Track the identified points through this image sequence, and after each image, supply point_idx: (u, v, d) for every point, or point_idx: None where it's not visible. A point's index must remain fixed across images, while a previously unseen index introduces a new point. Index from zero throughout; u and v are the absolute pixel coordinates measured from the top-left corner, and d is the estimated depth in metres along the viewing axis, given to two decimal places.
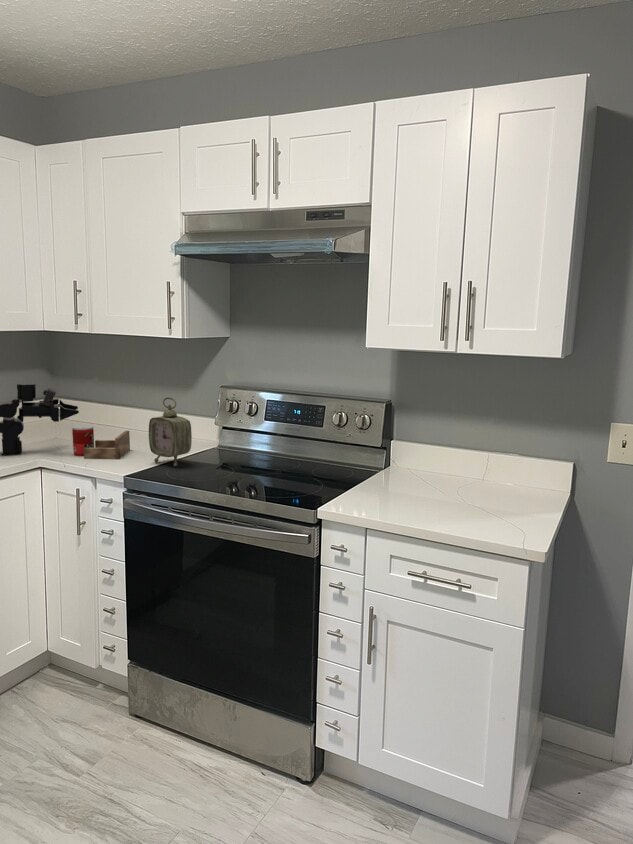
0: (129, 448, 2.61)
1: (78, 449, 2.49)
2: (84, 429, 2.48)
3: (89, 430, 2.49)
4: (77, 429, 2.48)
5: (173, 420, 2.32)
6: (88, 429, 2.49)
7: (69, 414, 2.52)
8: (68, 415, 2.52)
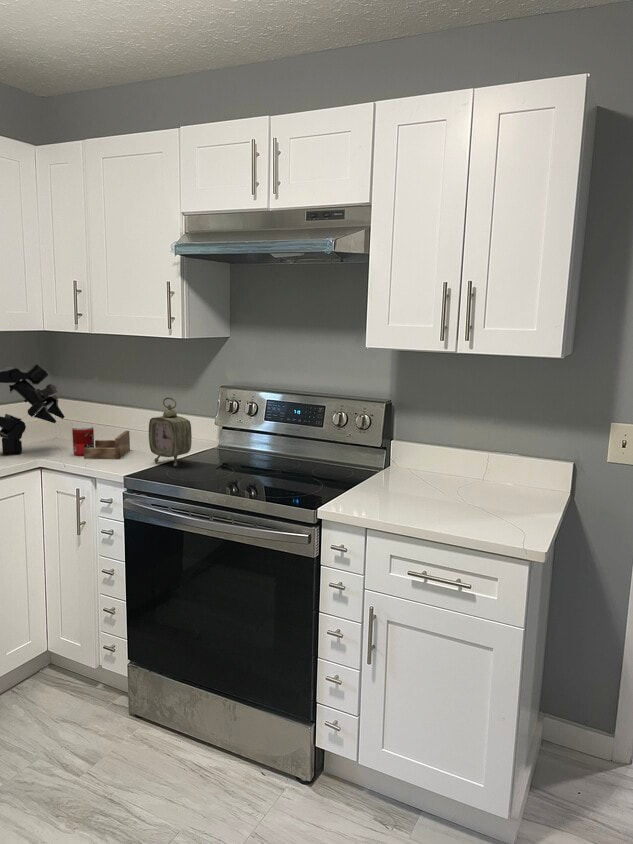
0: (129, 448, 2.61)
1: (78, 449, 2.49)
2: (84, 429, 2.48)
3: (89, 430, 2.49)
4: (77, 429, 2.48)
5: (173, 420, 2.32)
6: (88, 429, 2.49)
7: (46, 418, 2.49)
8: (44, 419, 2.48)
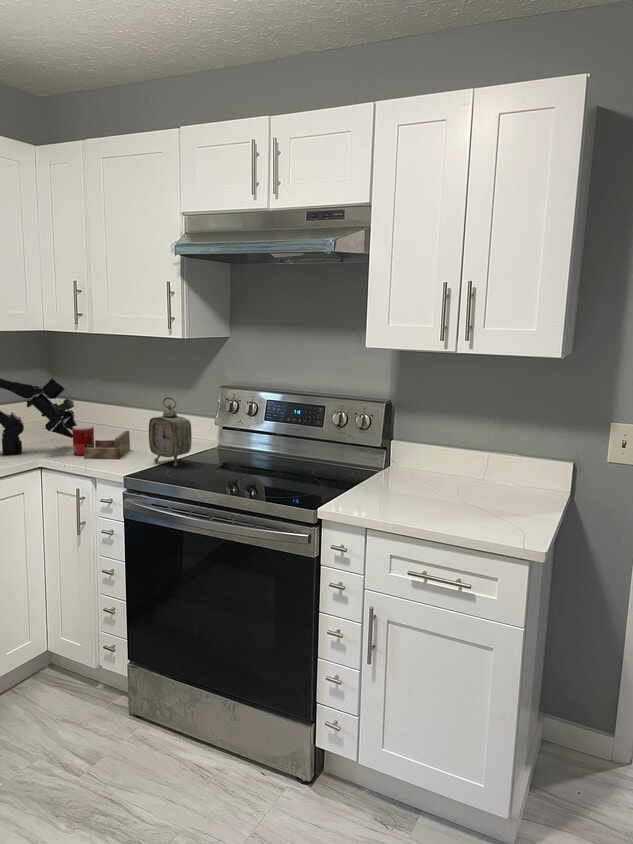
0: (129, 448, 2.61)
1: (78, 449, 2.49)
2: (84, 429, 2.48)
3: (89, 430, 2.49)
4: (77, 429, 2.48)
5: (173, 420, 2.32)
6: (88, 429, 2.49)
7: (63, 433, 2.50)
8: (61, 433, 2.50)
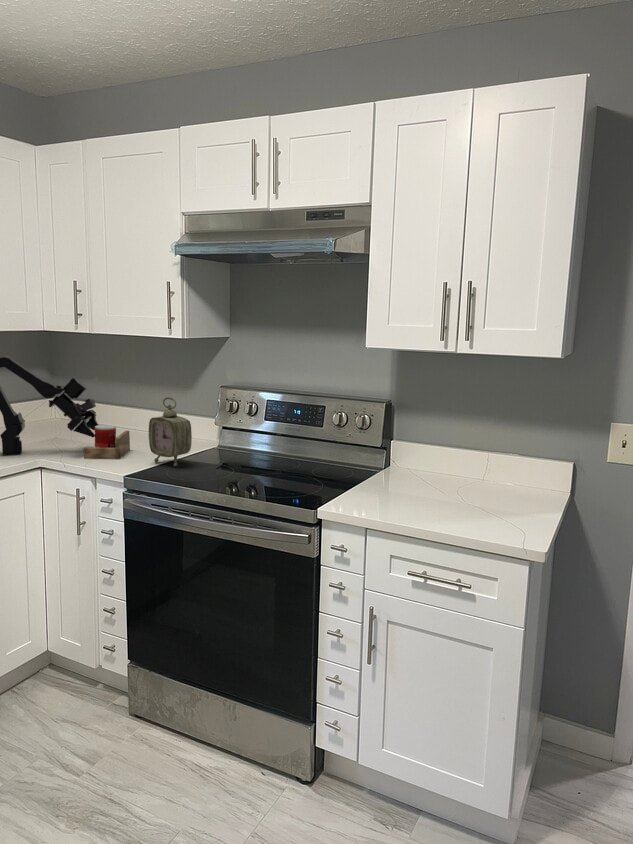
0: (129, 448, 2.61)
1: None
2: (108, 429, 2.49)
3: (113, 430, 2.50)
4: (101, 429, 2.48)
5: (173, 420, 2.32)
6: (112, 429, 2.50)
7: (85, 432, 2.50)
8: (83, 433, 2.50)
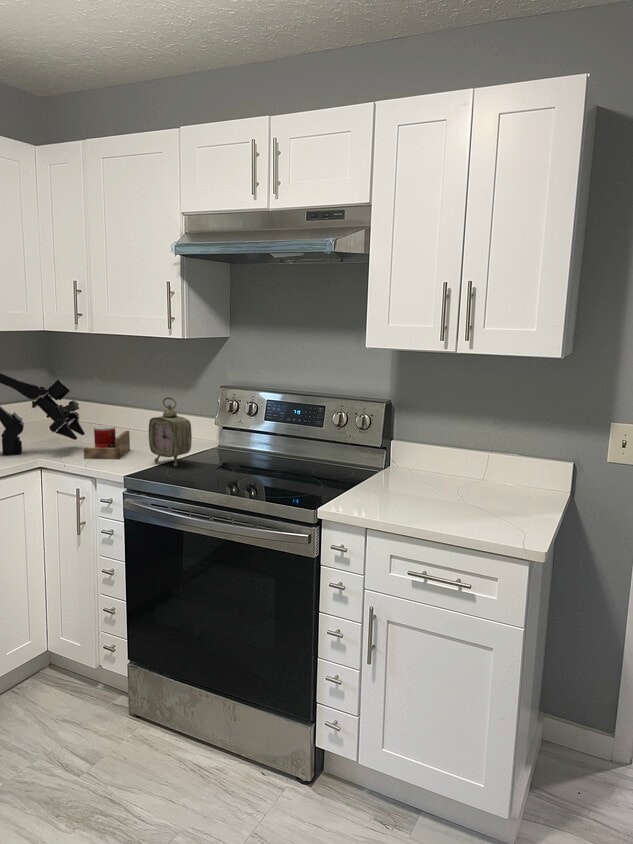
0: (129, 448, 2.61)
1: None
2: (108, 429, 2.48)
3: (112, 430, 2.50)
4: (101, 429, 2.48)
5: (173, 420, 2.32)
6: (111, 429, 2.49)
7: (67, 434, 2.50)
8: (65, 435, 2.50)
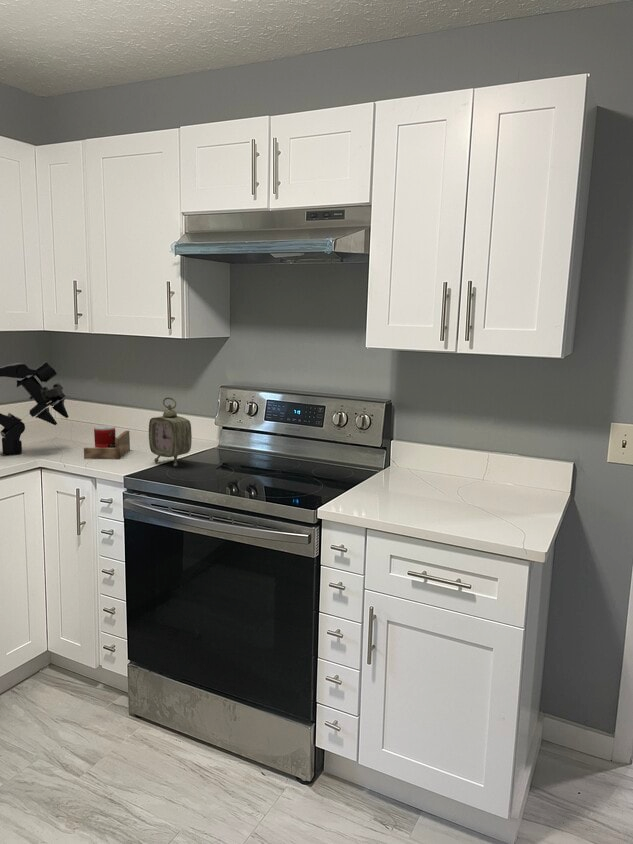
0: (129, 448, 2.61)
1: None
2: (108, 429, 2.48)
3: (112, 430, 2.50)
4: (101, 429, 2.48)
5: (173, 420, 2.32)
6: (111, 429, 2.49)
7: (47, 419, 2.50)
8: (45, 420, 2.50)
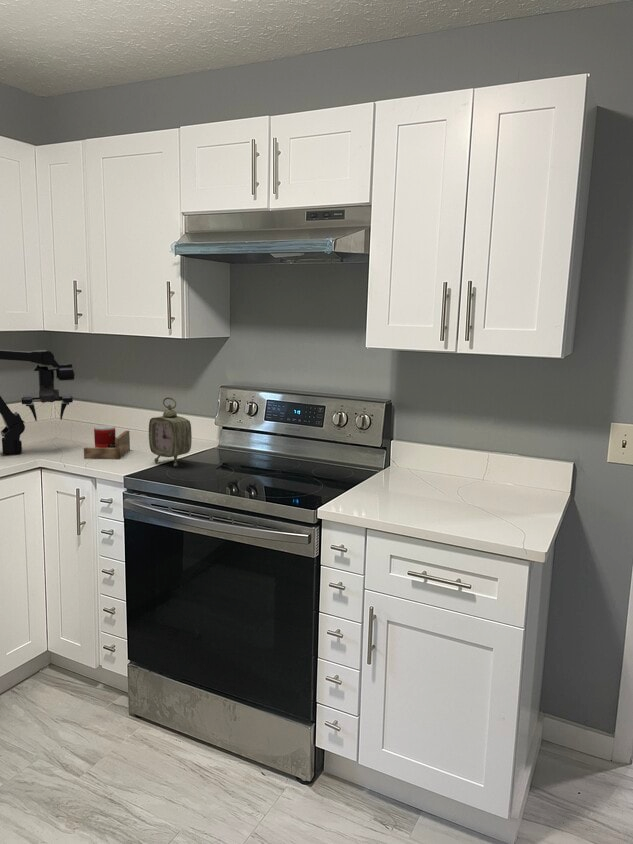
0: (129, 448, 2.61)
1: None
2: (108, 429, 2.48)
3: (112, 430, 2.50)
4: (101, 429, 2.48)
5: (173, 420, 2.32)
6: (111, 429, 2.49)
7: None
8: None
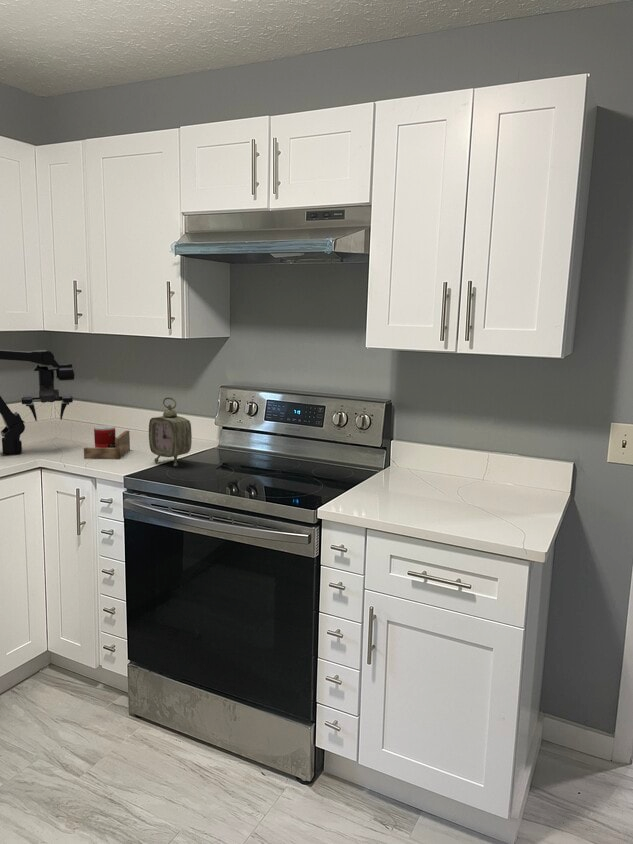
0: (129, 448, 2.61)
1: None
2: (108, 429, 2.48)
3: (112, 430, 2.50)
4: (101, 429, 2.48)
5: (173, 420, 2.32)
6: (111, 429, 2.49)
7: None
8: None
